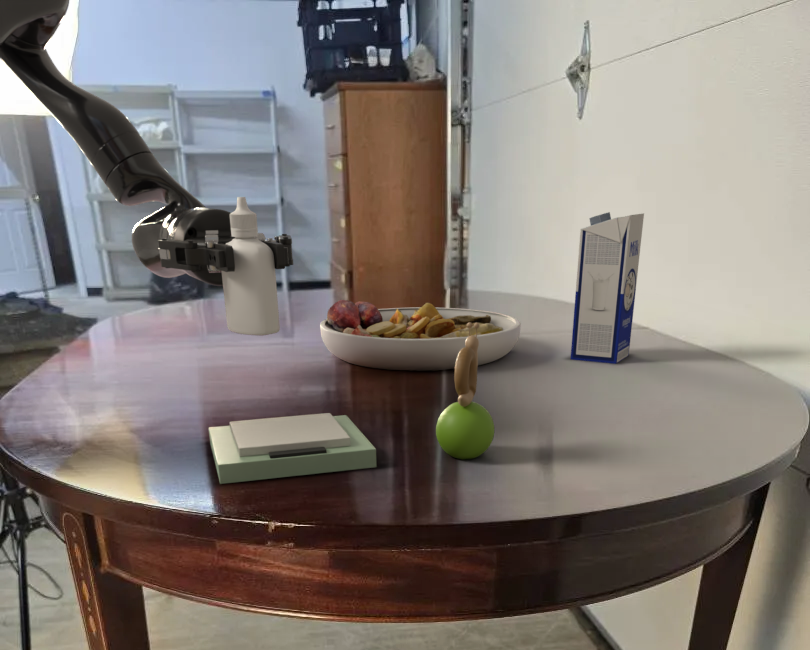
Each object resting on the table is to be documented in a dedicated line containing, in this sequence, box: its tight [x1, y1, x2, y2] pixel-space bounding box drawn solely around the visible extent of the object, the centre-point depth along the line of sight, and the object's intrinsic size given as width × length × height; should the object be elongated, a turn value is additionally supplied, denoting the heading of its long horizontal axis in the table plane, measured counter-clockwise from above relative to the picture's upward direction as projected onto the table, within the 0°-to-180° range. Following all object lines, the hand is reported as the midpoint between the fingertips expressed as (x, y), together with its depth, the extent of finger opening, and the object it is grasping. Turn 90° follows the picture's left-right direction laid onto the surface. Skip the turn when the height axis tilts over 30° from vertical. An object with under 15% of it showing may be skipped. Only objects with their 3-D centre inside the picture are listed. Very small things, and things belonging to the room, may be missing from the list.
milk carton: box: [570, 211, 645, 365], centre depth 110 cm, size 7×7×20 cm
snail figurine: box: [435, 322, 495, 460], centre depth 71 cm, size 5×6×12 cm
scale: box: [208, 412, 377, 485], centre depth 73 cm, size 14×12×3 cm
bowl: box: [319, 299, 522, 372], centre depth 117 cm, size 30×30×8 cm
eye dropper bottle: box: [221, 196, 281, 337], centre depth 72 cm, size 4×6×12 cm
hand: (256, 258), depth 70 cm, fingers closed on eye dropper bottle, 4 cm apart
